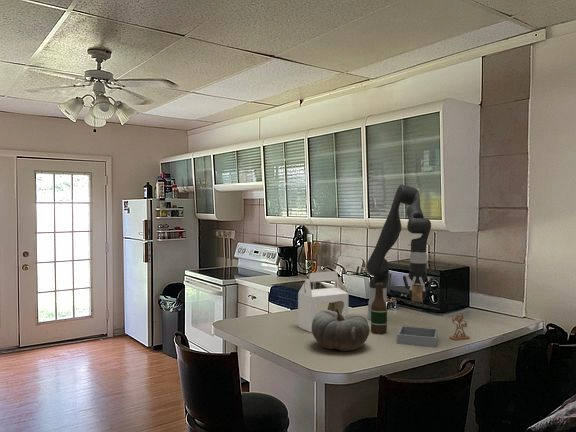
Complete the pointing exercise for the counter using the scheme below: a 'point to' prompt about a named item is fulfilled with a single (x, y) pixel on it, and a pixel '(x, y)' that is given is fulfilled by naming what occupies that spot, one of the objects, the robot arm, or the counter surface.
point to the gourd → (340, 330)
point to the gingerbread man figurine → (460, 337)
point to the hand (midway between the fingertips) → (417, 298)
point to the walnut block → (417, 293)
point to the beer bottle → (379, 312)
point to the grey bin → (417, 336)
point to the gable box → (320, 298)
